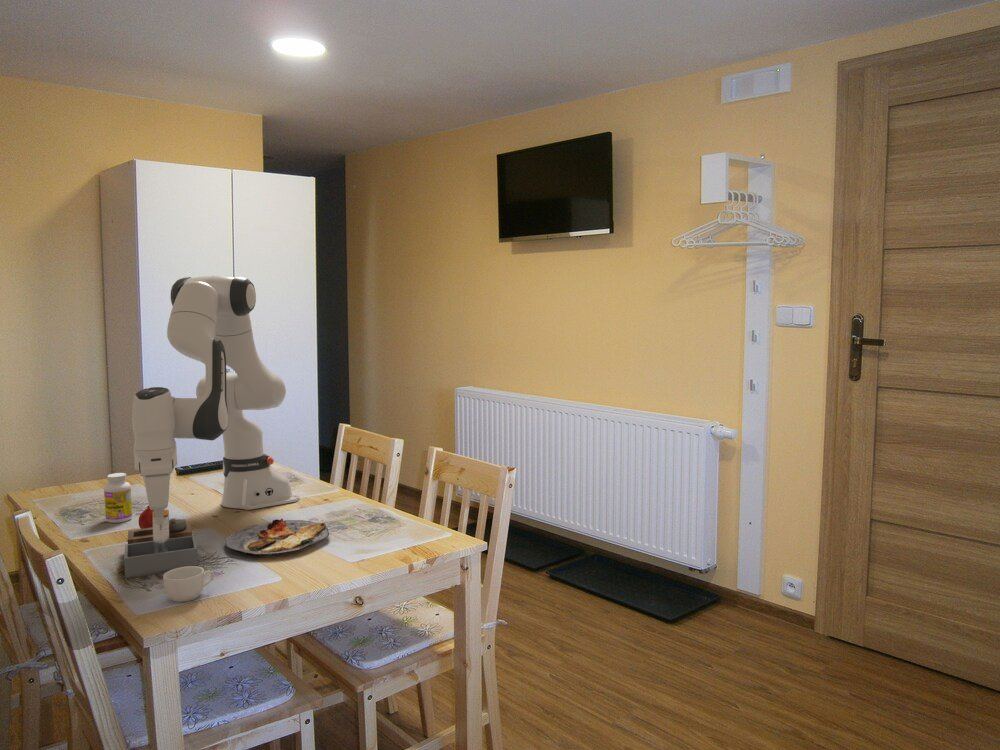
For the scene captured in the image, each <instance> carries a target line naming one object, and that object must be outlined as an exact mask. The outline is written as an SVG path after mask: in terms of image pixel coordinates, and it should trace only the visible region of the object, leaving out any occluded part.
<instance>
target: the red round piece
mask: <svg viewBox="0 0 1000 750" xmlns="http://www.w3.org/2000/svg"><path fill="white" fill-rule="evenodd" d="M153 511H154V510H151V509H150V507H149V504H148V505H147V506H146V508H145V509H144V510H143V511H142V512H141V513H140V514H139V517H138V526H139V529H144V528H152V527H153Z"/></svg>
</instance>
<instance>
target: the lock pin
mask: <svg viewBox="0 0 1000 750" xmlns="http://www.w3.org/2000/svg"><path fill="white" fill-rule="evenodd" d="M169 511H170V510H169V509H167V508H165V509H164V523H163V524H156V523H155V515H154V511H153V554H155V553H162V552H169V520H170V514H169Z"/></svg>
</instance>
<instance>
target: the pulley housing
mask: <svg viewBox="0 0 1000 750" xmlns="http://www.w3.org/2000/svg"><path fill="white" fill-rule="evenodd" d="M186 536H193V531H192V526H191V522H187V520H185V519H178V518H177V519H176V518H169V539H171V538H178V537H186ZM148 541H153V527H152V528H144V529H141V528H136V529H130V530H128V532H127V544H133V543H140V542H148Z"/></svg>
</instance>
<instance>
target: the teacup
mask: <svg viewBox="0 0 1000 750" xmlns="http://www.w3.org/2000/svg"><path fill="white" fill-rule="evenodd" d="M208 574H210V575H211V578H210V579H209V580H207V581H206V582H205V578H206V576H207V575H208ZM162 577H163V587H164V591H165V594H166V595H167V597H168V598H169V599H170V600H171V601H174V602H176V603H185V602H190V601H193V600H195V599H197V597H199V596H200V595H201V594H202V591H203V590H204V587H205V586H207V585H209V584H210V583H212V581H213V580H214V578H215V574H214V572H213V571H212V570H205V569H204V567H202V566H199V565H198V566H186V567H180V568H176V569H172V570H170V571H168V572H165V573H163V576H162Z"/></svg>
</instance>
